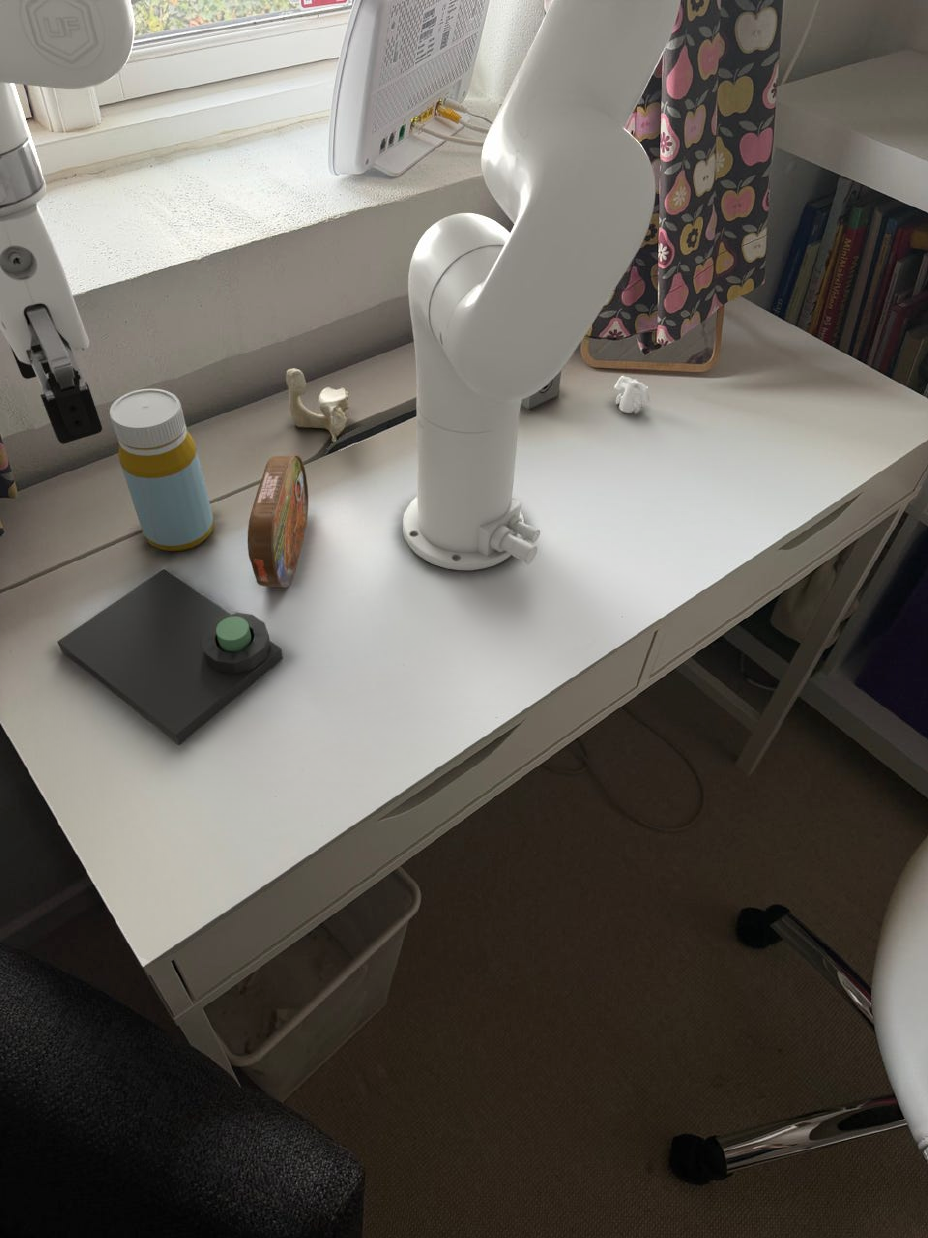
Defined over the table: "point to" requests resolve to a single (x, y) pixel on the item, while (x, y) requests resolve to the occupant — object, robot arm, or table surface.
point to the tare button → (233, 634)
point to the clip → (631, 394)
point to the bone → (329, 404)
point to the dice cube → (543, 393)
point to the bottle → (162, 469)
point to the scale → (169, 654)
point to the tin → (278, 521)
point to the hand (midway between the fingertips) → (61, 403)
